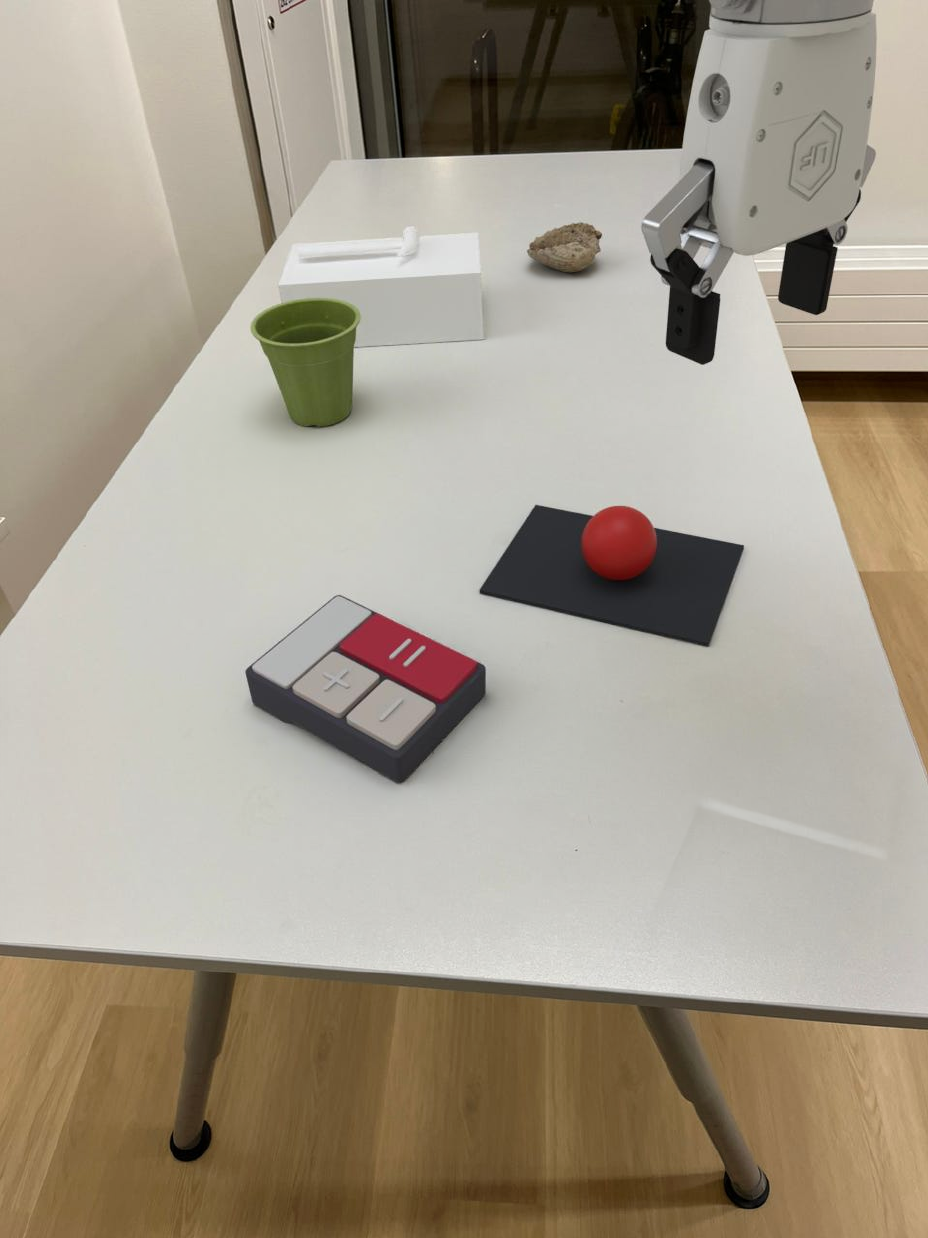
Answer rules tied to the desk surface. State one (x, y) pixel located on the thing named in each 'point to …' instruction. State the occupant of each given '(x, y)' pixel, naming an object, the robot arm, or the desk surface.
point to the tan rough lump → (567, 247)
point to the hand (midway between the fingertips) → (746, 331)
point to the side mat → (651, 602)
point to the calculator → (367, 686)
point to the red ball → (619, 543)
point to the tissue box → (395, 285)
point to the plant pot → (311, 356)
